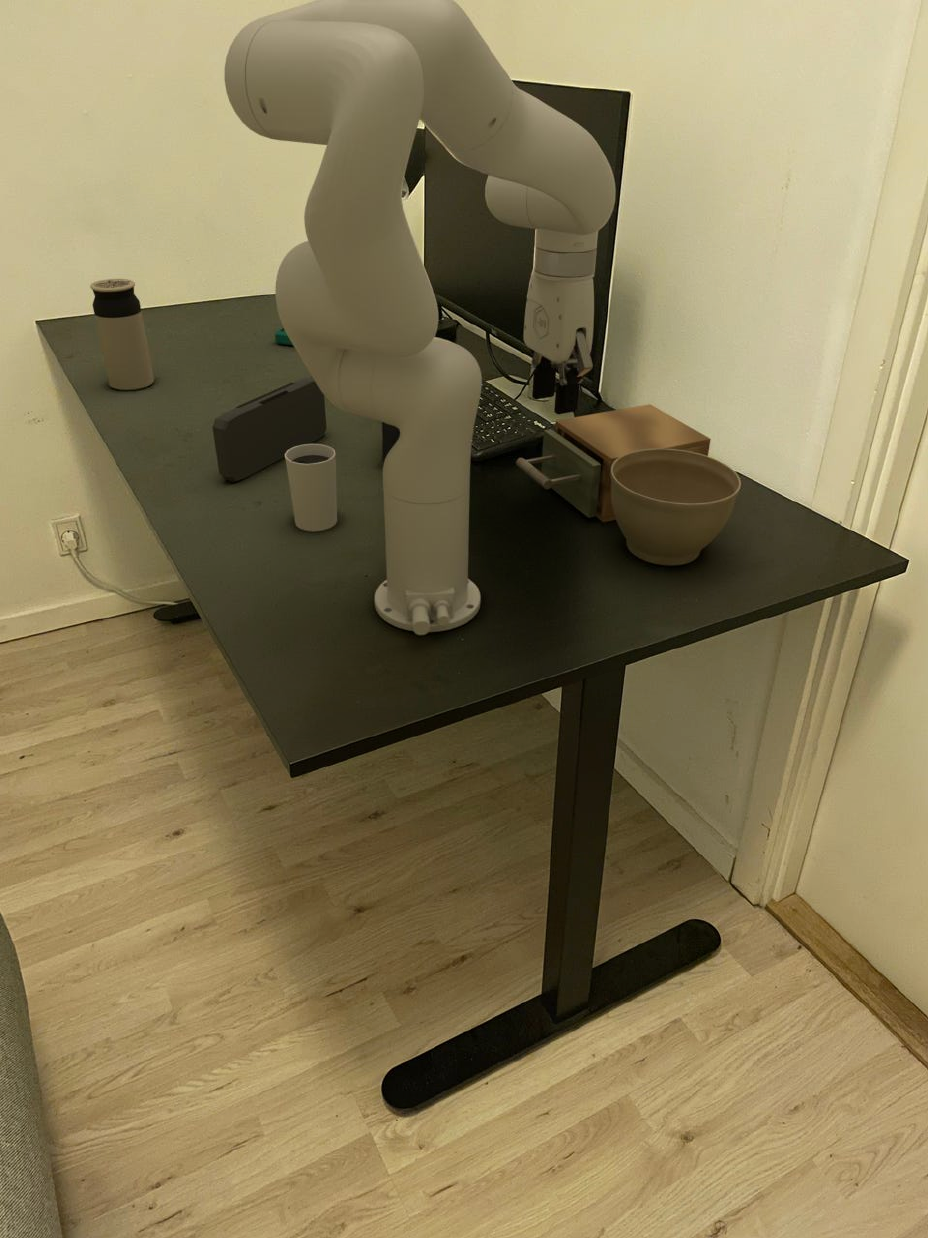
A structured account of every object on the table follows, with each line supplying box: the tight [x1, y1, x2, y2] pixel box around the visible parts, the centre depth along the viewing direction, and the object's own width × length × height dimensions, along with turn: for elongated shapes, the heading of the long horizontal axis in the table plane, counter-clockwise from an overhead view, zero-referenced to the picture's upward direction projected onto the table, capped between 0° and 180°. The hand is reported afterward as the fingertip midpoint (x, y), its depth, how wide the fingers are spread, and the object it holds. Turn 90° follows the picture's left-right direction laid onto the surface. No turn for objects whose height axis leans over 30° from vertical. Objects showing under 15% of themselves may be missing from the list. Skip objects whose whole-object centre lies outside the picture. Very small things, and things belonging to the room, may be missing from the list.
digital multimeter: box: [274, 326, 293, 346], centre depth 194 cm, size 7×15×3 cm, turn 171°
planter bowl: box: [611, 449, 742, 566], centre depth 117 cm, size 16×16×11 cm
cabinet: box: [554, 403, 712, 523], centre depth 132 cm, size 17×15×10 cm
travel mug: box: [89, 278, 155, 391], centre depth 164 cm, size 8×8×18 cm
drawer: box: [515, 428, 607, 519], centre depth 130 cm, size 21×13×8 cm, turn 116°
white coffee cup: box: [284, 443, 338, 532], centre depth 123 cm, size 7×7×10 cm
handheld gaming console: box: [212, 376, 328, 483], centre depth 140 cm, size 23×3×10 cm, turn 149°
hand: (554, 403), depth 121 cm, fingers open, 5 cm apart
